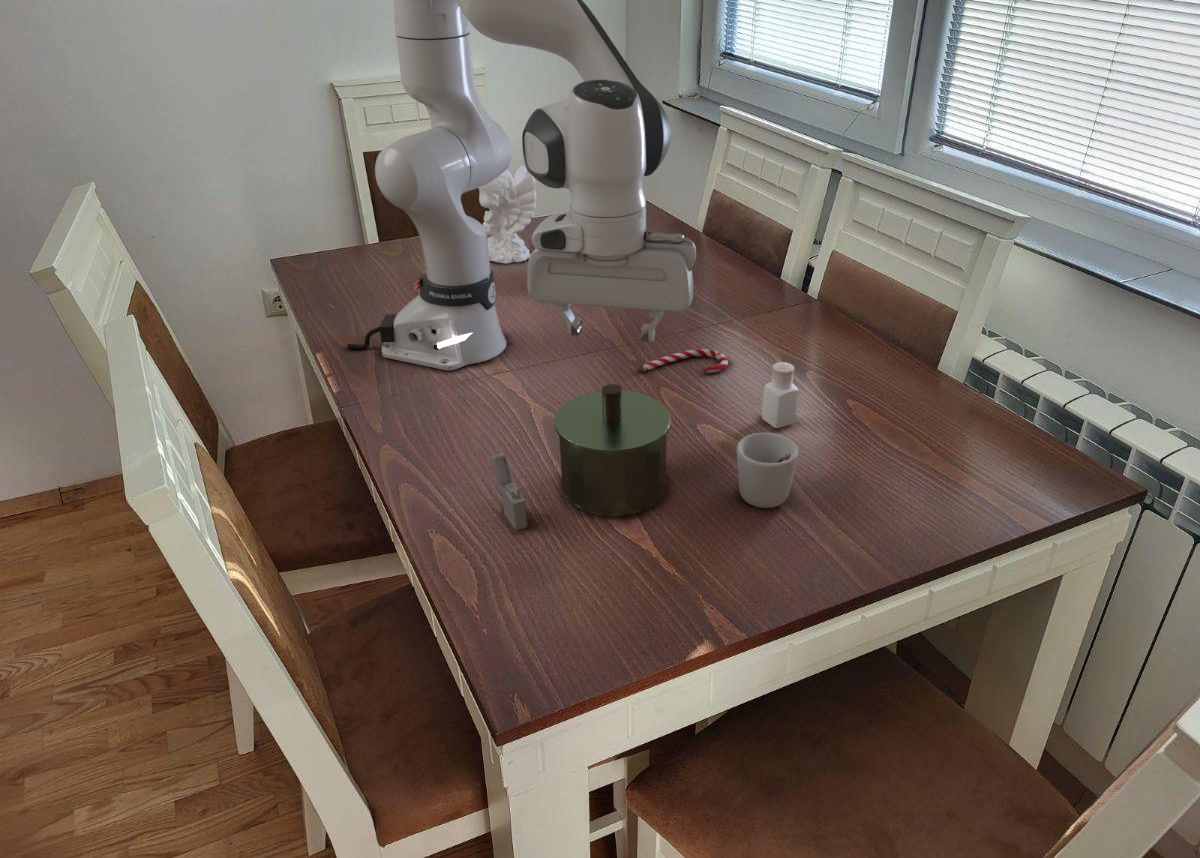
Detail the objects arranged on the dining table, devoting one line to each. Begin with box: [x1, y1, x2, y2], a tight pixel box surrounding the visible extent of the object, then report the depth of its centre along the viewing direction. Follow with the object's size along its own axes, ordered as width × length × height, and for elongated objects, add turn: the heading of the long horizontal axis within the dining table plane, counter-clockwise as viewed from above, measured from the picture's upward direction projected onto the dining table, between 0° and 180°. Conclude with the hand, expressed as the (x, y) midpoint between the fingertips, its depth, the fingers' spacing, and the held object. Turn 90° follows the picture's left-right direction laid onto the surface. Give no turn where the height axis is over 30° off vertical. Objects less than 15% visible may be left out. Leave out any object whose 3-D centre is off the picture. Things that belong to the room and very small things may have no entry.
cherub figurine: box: [478, 165, 537, 264], centre depth 197 cm, size 13×12×20 cm
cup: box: [736, 432, 799, 509], centre depth 120 cm, size 11×8×8 cm
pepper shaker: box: [761, 361, 800, 429], centre depth 135 cm, size 4×4×10 cm
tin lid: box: [554, 383, 672, 454], centre depth 117 cm, size 15×15×6 cm
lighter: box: [490, 453, 528, 531], centre depth 117 cm, size 7×2×8 cm, turn 27°
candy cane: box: [641, 348, 729, 374], centre depth 153 cm, size 8×1×15 cm
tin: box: [558, 433, 668, 518], centre depth 121 cm, size 14×14×10 cm
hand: (611, 336), depth 111 cm, fingers open, 8 cm apart
